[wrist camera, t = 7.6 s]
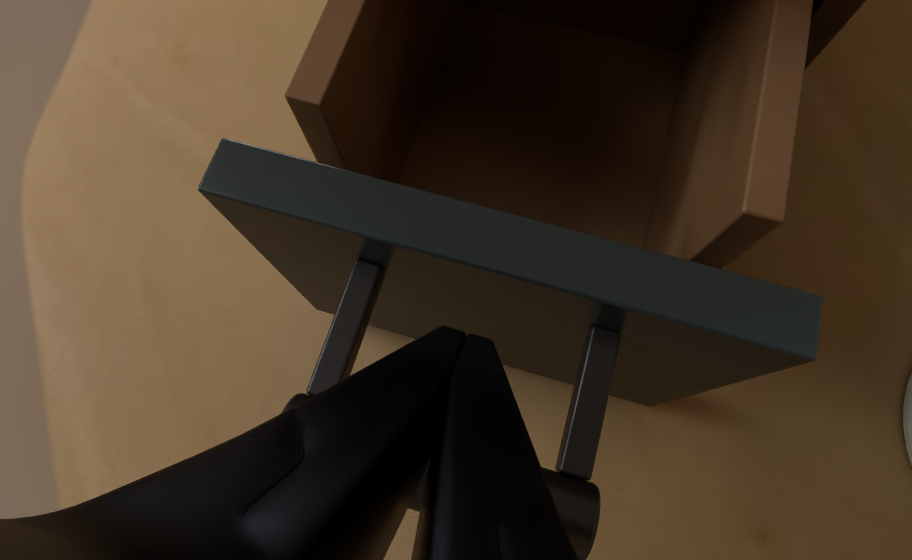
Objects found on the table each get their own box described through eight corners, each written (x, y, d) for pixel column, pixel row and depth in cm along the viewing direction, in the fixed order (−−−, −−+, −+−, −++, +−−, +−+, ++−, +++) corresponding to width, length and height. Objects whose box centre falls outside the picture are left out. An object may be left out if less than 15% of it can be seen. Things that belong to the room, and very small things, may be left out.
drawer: (623, 550, 16) (788, 646, 8) (266, 435, 18) (85, 415, 9) (715, 65, 22) (874, -185, 13) (434, 1, 23) (415, -266, 14)
